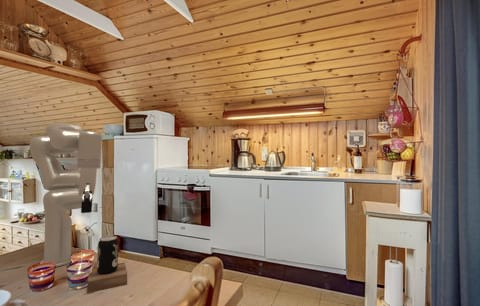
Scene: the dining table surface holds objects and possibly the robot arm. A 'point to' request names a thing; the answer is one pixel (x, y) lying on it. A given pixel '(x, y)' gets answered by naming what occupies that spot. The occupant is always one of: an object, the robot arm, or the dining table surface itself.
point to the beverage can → (107, 255)
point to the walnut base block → (107, 279)
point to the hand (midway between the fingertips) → (86, 209)
